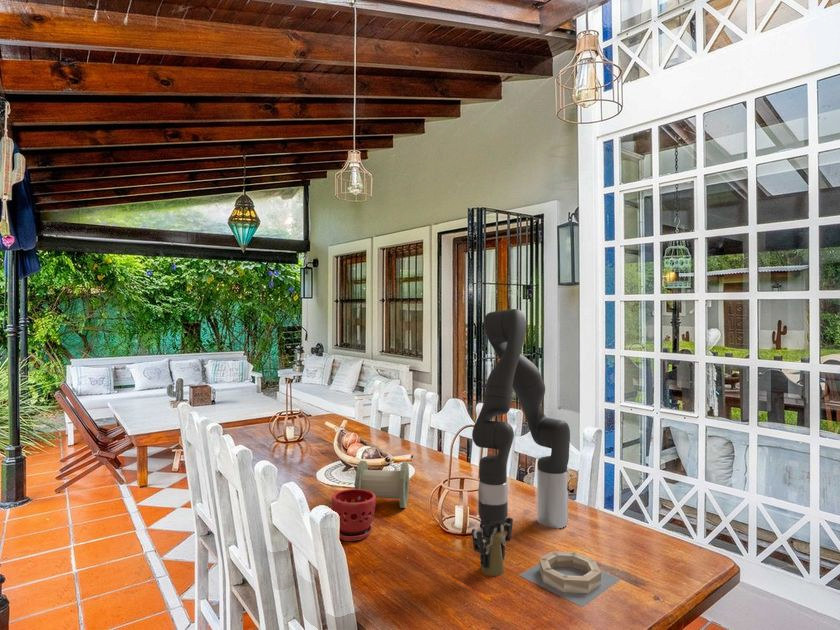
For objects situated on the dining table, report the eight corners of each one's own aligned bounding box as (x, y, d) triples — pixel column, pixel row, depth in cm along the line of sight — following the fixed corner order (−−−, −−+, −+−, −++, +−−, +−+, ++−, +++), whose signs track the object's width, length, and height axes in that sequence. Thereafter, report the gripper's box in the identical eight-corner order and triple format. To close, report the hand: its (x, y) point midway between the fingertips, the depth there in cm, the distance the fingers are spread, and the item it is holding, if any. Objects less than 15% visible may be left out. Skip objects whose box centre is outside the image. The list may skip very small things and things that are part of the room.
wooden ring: (560, 557, 136) (561, 546, 136) (609, 578, 125) (609, 566, 125) (529, 575, 126) (529, 563, 126) (579, 599, 116) (579, 587, 116)
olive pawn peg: (488, 563, 133) (488, 523, 133) (508, 571, 130) (508, 529, 129) (476, 573, 129) (476, 530, 129) (496, 581, 125) (496, 537, 125)
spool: (409, 498, 180) (409, 456, 180) (403, 515, 165) (403, 470, 165) (364, 496, 181) (364, 455, 181) (354, 513, 166) (354, 468, 166)
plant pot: (368, 546, 143) (368, 504, 143) (325, 542, 146) (325, 501, 146) (380, 527, 156) (380, 488, 156) (340, 523, 159) (340, 485, 158)
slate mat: (558, 554, 138) (558, 552, 138) (621, 581, 125) (621, 578, 125) (518, 577, 127) (518, 575, 127) (582, 609, 113) (582, 607, 113)
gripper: (499, 487, 136) (499, 549, 137) (463, 500, 127) (462, 566, 127) (521, 495, 131) (521, 559, 131) (485, 509, 121) (485, 578, 122)
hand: (492, 562), depth 129 cm, fingers open, 5 cm apart
